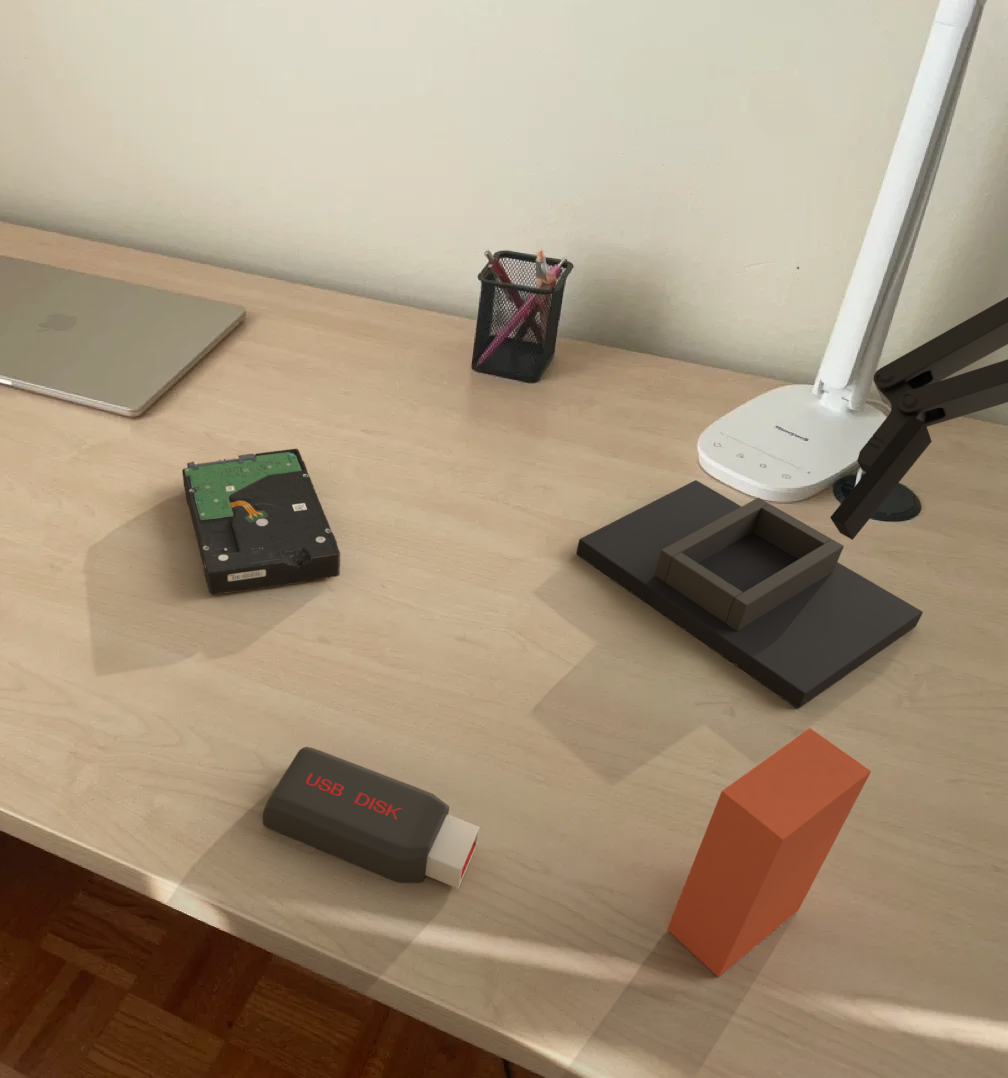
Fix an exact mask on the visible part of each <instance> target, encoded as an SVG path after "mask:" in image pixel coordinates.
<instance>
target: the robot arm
mask: <svg viewBox="0 0 1008 1078" xmlns="http://www.w3.org/2000/svg"><path fill="white" fill-rule="evenodd" d="M1007 345H1008V296H1007V297H1005V298H1004V299H1002V300H1000V301H997V302H996V303H994V304H993V305H991V306H989V307H987V308H985V309H983V310H982V311H980V312H979V313H976V314H975V315H973V316H971V317H969V318H968V319H966V320H964V321H962V322H961V323H958V324H957V325H955V326H953V327H952V328H950V329H948V330H946V331H944V332H943V333H941V334H939V335H937V336H935V337H934V338H932V339H929V340H928V341H926V342H925V343H923V344H921V345H919V346H918V347H916V348H914V349H912V350H910V351H909V352H907V353H905V354H903V355H902V356H900V357H898V358H896V359H895V360H893V361H891V362H889V363H887V364H886V365H883V366H881V367H880V368H879V369H877V370H876V371H875V373H874V375H873V378H872V379H873V382H874V387H876V390H877V393H878V395H879V397H880V399H881V401H882V402H883V403H884V404H885V405H887V406H888V407H889V408H890V412H889V414H888V415H887V416H886V418H885V419H884V420H883V422H881V424H880V425H879V426H878V428H877V429H876V430H875V432H874V433H873V434H872V436H871V437H870V438H869V439H868V441H867V442H866V443H865V444H864V446H863V447H862V448H861V450H860V451H859V452H858V456H857V460H856V461H857V463H858V465H859V467H860V469H861V471H863V472H865V473H864V474H863V475H862V477H861V478H860V479H859V480H858V482H857V483H856V485H854V486H853V488H852V489H851V491H849V493H848V494H847V495H846V496H845V497H844V499H843V500H842V502H841V503H840V504H839V505H838V507H836V509H835V510H834V512H833V513H832V514H831V515H830V518H829V519H830V520H831V521H832V523H833V524H834V526H835V528H836V529H837V530H838V532H839V534H841V535H842V536H845V537H846V538H848V539H850V540H852V541H853V540H854V539H855V538H856V536H857V535H858V534H859V533H860V532H861V530H862V529H863V528H864V527H865V526H866V524H867V523H868V522H869V520H870V519H871V518H872V517H873V515H874V514H875V513H876V512H877V510H878V509H879V508H880V507H881V505H883V503H884V502H885V501H886V499H887V498H888V497H889V495H890V494H891V493H892V492H893V491H894V489H895V488H896V487H897V485H898V484H899V483H900V482H901V480H902V479H903V478H904V477H905V476H906V474H907V473H908V472H909V471H910V469H911V468H912V467H913V466H914V464H915V463H916V462H917V460H918V459H919V458H920V457H921V456H922V455H923V454H924V453H925V451H926V450H927V448H928V447H929V446H930V444H931V443H932V442H933V440H932V438H931V435H930V432H929V429H928V427H930V426H934V425H937V424H941V423H944V422H948V421H951V420H954V419H958V418H960V417H964V416H967V415H972V414H974V413H977V412H980V411H984V410H986V409H987V410H988V409H989V408H994V407H997V406H1000V405H1003V404H1007V403H1008V358H1007V359H1004V360H1001V361H998V362H995V363H992V364H989V365H986V366H982V367H979V368H976V369H973V370H969V371H966V372H963V373H961V374H958V375H954V374H956V373H957V372H960V371H962V370H963V369H965V368H967V367H968V366H971V365H973V364H974V363H976V362H978V361H980V360H982V359H983V358H985V357H987V356H989V355H991V354H993V353H994V352H996V351H998V350H1000V349H1002V348H1004V347H1005V346H1007ZM952 375H954V376H952ZM950 376H951V377H950Z"/></svg>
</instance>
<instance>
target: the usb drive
mask: <svg viewBox="0 0 1008 1078" xmlns="http://www.w3.org/2000/svg"><path fill="white" fill-rule="evenodd" d="M449 813H450V806H449V805H448V803H446V802H445V801H443V800H442V799H441V798H440V797H438V796H437V795H435V794H434V793H432V792H429V791H426V790H424V789H421V788H419V787H416V786H414V785H411V784H409V783H406V782H403V781H402V780H399V779H396V778H392V777H391V776H388V775H385V774H383V773H380V772H377V771H375V770H372V769H370V768H367V767H364V766H362V765H358V764H356V763H353V762H351V761H349V760H345V759H343V758H340V757H338V756H335V755H333V754H330V753H327V752H325V751H322V750H319V749H317V748H313V747H310V746H303V747H302V748H300V749H299V750H298V752H297V754H296V755H295V756H294V758H293V760H291V763H290V764H289V766H288V768H287V769H286V770H285V772H284V773H283V776H282V777H281V778H280V780H279V782H278V783H277V784H276V787H275V788H274V790H273V791H272V792H271V794H270V795H269V798H268V799H267V801H266V804H265V806H264V808H263V812H262V825H263V826H264V827H266V828H267V829H270V830H273V831H275V832H277V833H280V834H282V835H284V836H287V837H289V838H291V839H294V840H296V841H298V842H301V843H304V844H306V845H308V846H310V847H313V848H315V849H317V850H320V851H322V852H324V853H327V854H330V855H332V856H334V857H336V858H339V859H342V860H343V861H346V862H349V863H350V864H354V865H355V866H358V867H360V868H363V869H366V870H368V871H370V872H372V873H375V874H377V875H379V876H381V877H384V878H387V879H390V880H392V881H395V882H396V883H422V882H424V880H425V877H426V876H427V877H429V878H431V879H434V880H436V881H439V882H441V883H443V884H446V885H447V886H450V887H452V888H456V889H460V885H461V883H462V881H463V879H464V876H465V874H466V871H467V869H468V867H469V864H470V862H471V860H472V858H473V856H474V853H475V851H476V848H477V846H478V840H479V836H480V830H481V827H480V826H478V825H476V824H473V823H471V822H469V821H466V820H463V819H460V818H458V817H455V816H453V815H450V814H449Z"/></svg>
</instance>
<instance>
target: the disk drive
mask: <svg viewBox="0 0 1008 1078" xmlns="http://www.w3.org/2000/svg"><path fill="white" fill-rule="evenodd" d="M237 457H238V458H227V459H226V458H223V460H222V459H218V460H212V461H204V462H198V463H196V464H195V461H189V462H187V463H186V466H187V467H184V468H183V469H181V470H182V471H181V472H182V479H183V480H182V481H183V482H182V483H183V487H184V492H185V498H186V503H187V506H188V510H189V513H190V518H191V522H192V526H193V530H194V534H195V538H196V542H197V546H198V547H197V548H198V550H199V554H200V555H199V556H200V558H201V563H202V566H203V574H204V578H205V582H206V584H207V588H208V592H209V593H208V594H210V595H212V596H213V595H218V594H228V593H229V594H231V593H232V594H233V593H239V592H247V591H254V590H259V589H265V588H266V589H268V588H272V587H281V586H286V585H294V584H300V583H301V584H303V583H306V582H315V581H320V580H323V579H330V578H333V577H335V578H336V577H338V576H340V575H341V551H340V550H339V545H338V541H337V540H336V536H335V534H334V533H333V531H332V528H331V526H330V523H329V521H328V518H327V516H326V514H325V511H324V509H323V506H322V504H321V502H320V498H319V496H318V494H317V492H316V489H315V487H314V484H313V482H312V479H311V476H310V474H309V472H308V469H307V466H306V463H305V461H304V460H303V457H302V455H301V452H300V450H299V448H289V449H282V450H274V451H265V452H257V453H245V454H239V455H237Z"/></svg>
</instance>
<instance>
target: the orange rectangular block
mask: <svg viewBox="0 0 1008 1078" xmlns="http://www.w3.org/2000/svg"><path fill="white" fill-rule="evenodd" d="M871 773H872V770H870V769H869V768H868V767H866V766H865V765H864V764H862V763H861V762H859V761H858V760H857V759H855V758H854V757H852V756H850V755H849V754H848V753H846V752H845V751H843V750H842V749H841V748H839V747H838V746H837V745H835V744H834V743H832V742H831V741H830V740H828V739H827V738H825V737H823V736H822V735H821V734H819V733H818V732H817V731H815V730H814V729H812V728H811V727H809V728H807V729H806V730H805V731H803V732H802V733H801V734H799V735H798V736H796V737H795V738H793V739H792V740H791V741H789V742H788V743H786V744H785V745H783V746H782V747H781V748H779V749H778V750H776V752H774V753H772V754H771V755H769V756H768V757H767V758H766V759H764V760H763V761H762V762H760V763H759V764H757V765H756V766H755V767H753V768H752V769H750V770H749V771H747V772H746V773H745V774H743V775H742V776H741V777H739V778H737V780H735V781H733V782H732V783H731V784H730V785H728V786H726V787H725V788H724V789H723V790H721V791H720V794H719V796H718V799H717V803H715V807H714V810H713V811H712V814H711V817H710V820H709V822H708V824H707V827H706V830H705V832H704V835H703V837H702V840H701V842H700V844H699V847H698V849H697V852H696V855H695V858H694V860H693V862H692V865H691V868H690V870H689V873H688V875H687V878H686V880H685V883H684V885H683V888H682V891H681V893H680V895H679V898H678V900H677V903H676V906H675V908H674V911H673V913H672V915H671V919H670V921H669V924H668V926H667V931H668V932H669V933H670V934H671V935H672V936H673V937H674V938H675V939H676V940H678V941H679V942H680V943H681V944H682V945H683V946H684V947H685V948H686V949H687V950H688V951H689V952H690V953H692V954H693V955H694V956H695V957H696V958H697V960H699V961H700V962H701V963H702V964H703V965H704V966H705V967H706V968H707V969H709V970H710V971H711V972H712V973H713V974H714V975H715V976H716V977H717V978H720V977H721V976H722V975H723V974H724V973H725V972H726V971H728V970H729V969H730V968H731V967H732V966H734V965H735V964H736V963H737V962H739V961H740V960H741V959H742V958H743V957H745V955H747V954H748V953H749V952H750V951H751V950H753V949H754V948H756V946H757V945H759V944H760V943H761V942H762V941H764V940H765V939H766V938H767V937H768V936H770V935H771V934H772V933H773V932H774V931H775V930H777V929H778V928H779V927H780V926H781V925H783V924H784V923H785V922H787V920H789V919H790V918H791V917H792V916H794V915H795V914H796V913H797V912H798V911H799V910H800V908H801V906H802V905H803V903H804V900H805V899H806V897H807V895H808V893H809V892H810V890H811V888H812V885H813V883H814V882H815V880H816V878H817V876H818V874H819V872H820V870H821V868H822V867H823V865H824V863H825V861H826V859H827V857H828V855H829V853H830V852H831V849H832V847H833V846H834V843H835V842H836V840H837V838H838V837H839V834H840V832H841V831H842V828H843V827H844V824H845V823H846V820H847V819H848V817H849V815H850V813H851V811H852V809H853V808H854V805H855V804H856V802H857V800H858V798H859V797H860V794H861V792H862V790H863V789H864V786H865V784H866V782H867V780H868V778H869V777H870V774H871Z"/></svg>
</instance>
